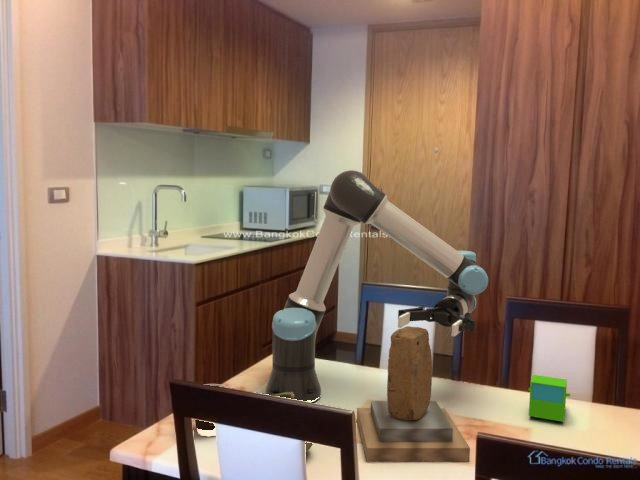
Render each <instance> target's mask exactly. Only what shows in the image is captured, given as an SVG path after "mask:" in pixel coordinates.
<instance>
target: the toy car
mask: <svg viewBox="0 0 640 480" xmlns="http://www.w3.org/2000/svg"><path fill="white" fill-rule="evenodd" d="M531 376H532V377H531V380H530V386H529V387H528V391H529V402H528V403H529V408H528V416H529V418H533V419H534V418H538V419H539V418H540V419H545V420H550V421H557V422H558V423H562V424H563V423H564V420H565V419H564V418H565V415H566V403H567V401H566V400H567V397H569V398H570V397H571V393H567V383H568V380H567V379H565V378H558V377H551V376H543V375H537V374H532V375H531Z"/></svg>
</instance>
